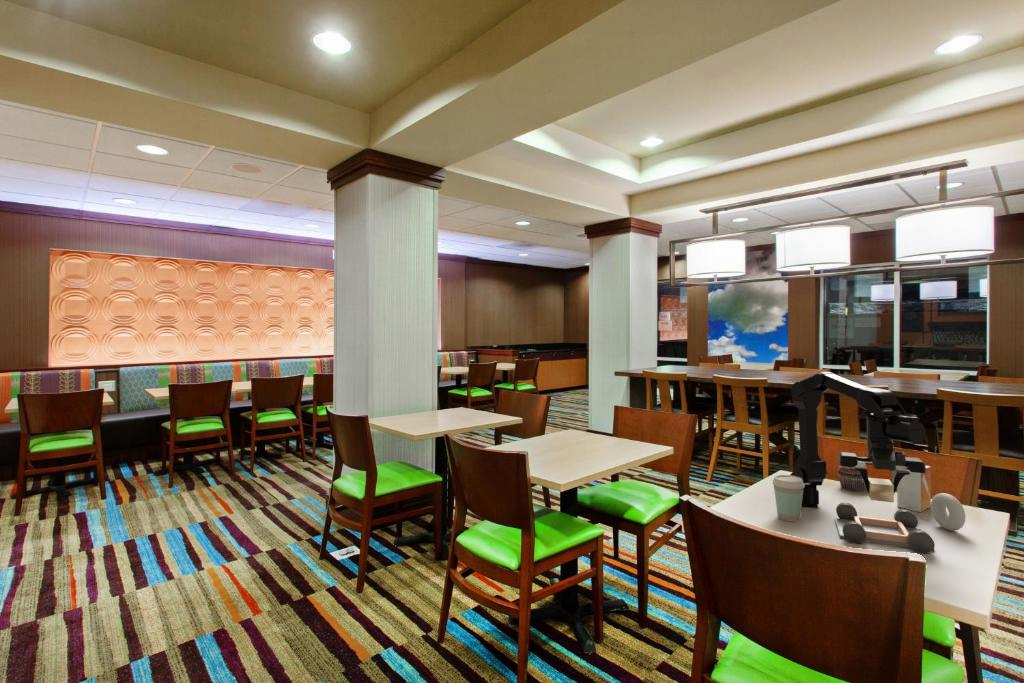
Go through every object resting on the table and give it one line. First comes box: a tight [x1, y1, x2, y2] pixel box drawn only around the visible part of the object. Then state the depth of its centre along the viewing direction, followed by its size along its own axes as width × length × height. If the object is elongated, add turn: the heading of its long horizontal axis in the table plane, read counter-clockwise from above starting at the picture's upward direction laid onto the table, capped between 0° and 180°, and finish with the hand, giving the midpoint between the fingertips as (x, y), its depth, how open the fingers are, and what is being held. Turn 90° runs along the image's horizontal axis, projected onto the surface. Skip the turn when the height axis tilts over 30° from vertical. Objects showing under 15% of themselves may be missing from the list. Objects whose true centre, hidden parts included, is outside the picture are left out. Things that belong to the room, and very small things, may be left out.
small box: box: [896, 465, 932, 513], centre depth 159 cm, size 8×6×13 cm
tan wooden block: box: [866, 477, 895, 503], centre depth 138 cm, size 5×6×4 cm
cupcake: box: [837, 464, 872, 493], centre depth 178 cm, size 10×10×10 cm
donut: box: [930, 492, 967, 532], centre depth 141 cm, size 10×3×10 cm, turn 176°
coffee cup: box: [772, 474, 805, 522], centre depth 152 cm, size 8×8×12 cm
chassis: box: [834, 502, 936, 554], centre depth 138 cm, size 20×19×5 cm
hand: (880, 493), depth 138 cm, fingers closed on tan wooden block, 5 cm apart
